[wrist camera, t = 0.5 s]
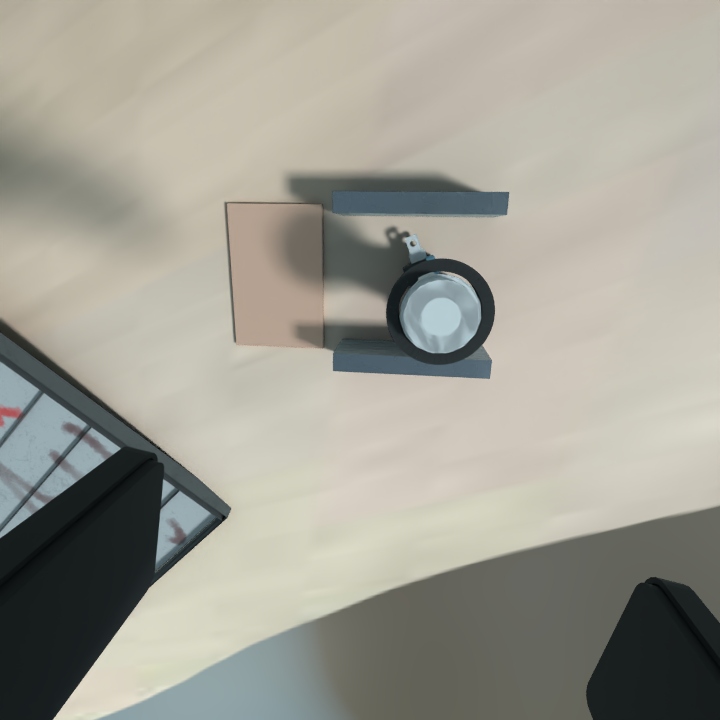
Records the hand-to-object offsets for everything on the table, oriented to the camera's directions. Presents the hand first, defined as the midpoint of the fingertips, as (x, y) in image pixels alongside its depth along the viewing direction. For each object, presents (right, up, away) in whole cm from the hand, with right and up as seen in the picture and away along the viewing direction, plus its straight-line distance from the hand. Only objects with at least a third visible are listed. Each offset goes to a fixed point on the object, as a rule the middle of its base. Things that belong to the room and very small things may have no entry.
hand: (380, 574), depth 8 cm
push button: (+4, +10, +22) cm, 24 cm away
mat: (-6, +10, +23) cm, 26 cm away
